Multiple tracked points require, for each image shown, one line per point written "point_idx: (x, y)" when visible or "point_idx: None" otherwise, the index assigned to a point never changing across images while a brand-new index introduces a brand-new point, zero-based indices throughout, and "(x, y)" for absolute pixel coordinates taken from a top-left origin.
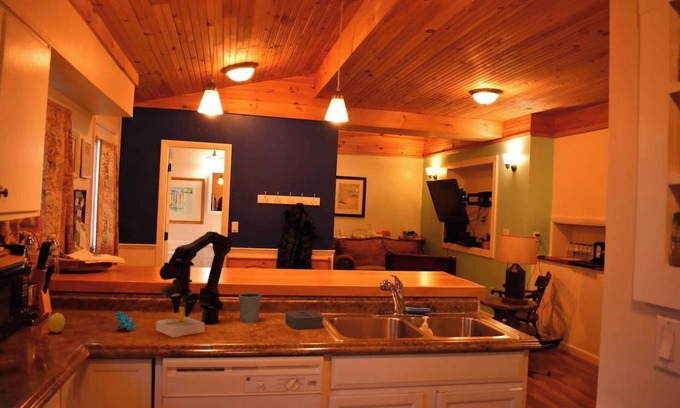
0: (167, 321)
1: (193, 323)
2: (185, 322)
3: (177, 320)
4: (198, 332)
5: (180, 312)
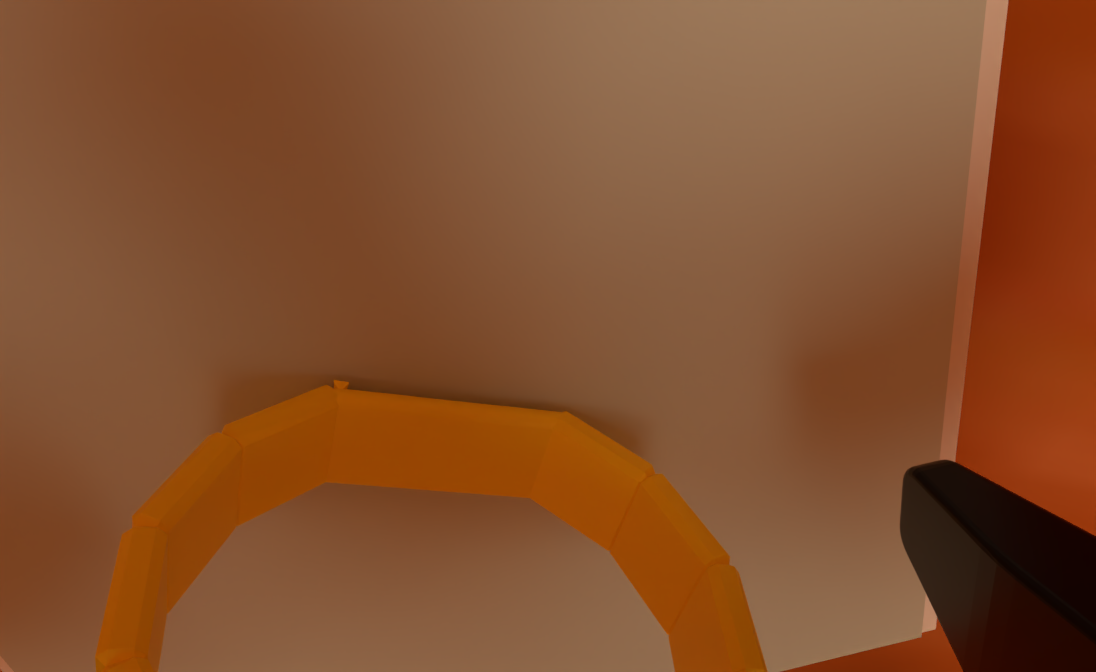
0: (628, 17)
1: (33, 666)
2: None
3: (607, 371)
4: None
5: (717, 650)
